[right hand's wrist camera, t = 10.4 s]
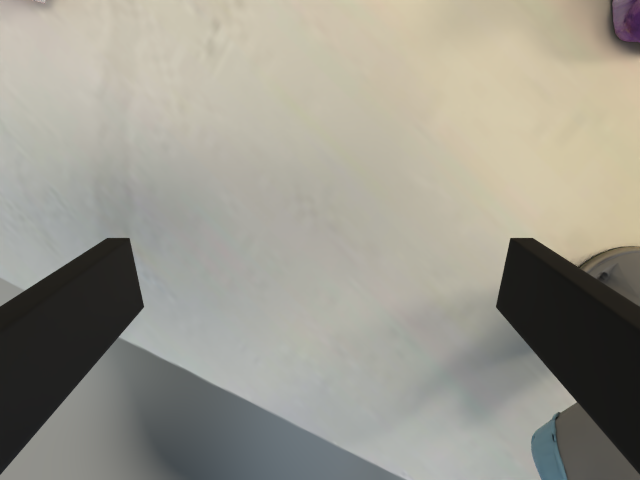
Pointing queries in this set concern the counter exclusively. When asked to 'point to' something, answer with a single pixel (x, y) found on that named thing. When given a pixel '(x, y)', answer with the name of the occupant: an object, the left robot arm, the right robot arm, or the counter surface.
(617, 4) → the figurine
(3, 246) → the counter surface
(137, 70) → the counter surface
